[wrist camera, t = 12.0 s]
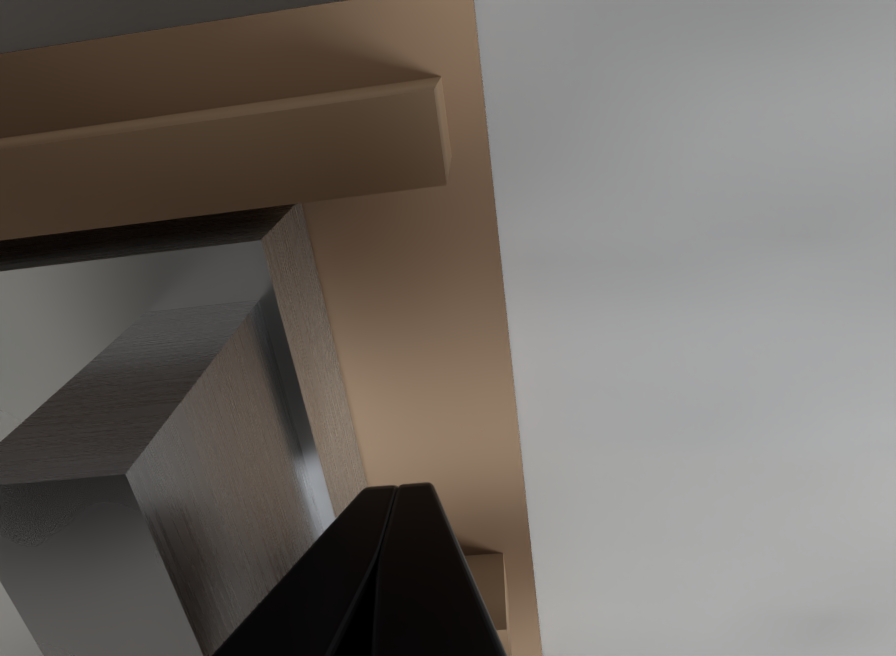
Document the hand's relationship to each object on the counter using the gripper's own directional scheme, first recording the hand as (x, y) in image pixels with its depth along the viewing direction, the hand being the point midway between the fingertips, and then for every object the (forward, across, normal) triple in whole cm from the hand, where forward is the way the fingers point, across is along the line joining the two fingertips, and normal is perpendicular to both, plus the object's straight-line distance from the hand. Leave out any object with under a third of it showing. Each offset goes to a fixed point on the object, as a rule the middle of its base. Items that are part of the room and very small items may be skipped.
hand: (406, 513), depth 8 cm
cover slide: (+3, +6, 0) cm, 6 cm away
